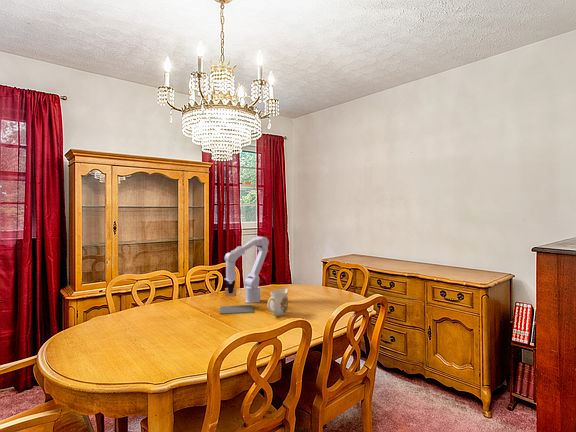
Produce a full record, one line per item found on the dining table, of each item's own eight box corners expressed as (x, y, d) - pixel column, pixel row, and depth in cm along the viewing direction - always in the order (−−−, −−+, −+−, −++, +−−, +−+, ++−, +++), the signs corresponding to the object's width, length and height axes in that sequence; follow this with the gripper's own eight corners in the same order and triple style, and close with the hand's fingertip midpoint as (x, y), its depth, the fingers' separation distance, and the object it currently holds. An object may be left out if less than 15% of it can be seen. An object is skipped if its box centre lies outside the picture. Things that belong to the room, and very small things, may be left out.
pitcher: (260, 316, 197) (260, 292, 197) (280, 308, 212) (280, 286, 211) (275, 320, 191) (275, 295, 190) (294, 312, 205) (294, 289, 205)
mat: (252, 305, 218) (252, 304, 218) (253, 312, 204) (253, 311, 204) (220, 307, 215) (220, 306, 215) (219, 314, 201) (219, 313, 201)
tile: (236, 295, 220) (236, 287, 220) (236, 296, 218) (236, 288, 218) (225, 295, 219) (225, 288, 219) (225, 296, 217) (225, 288, 217)
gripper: (224, 269, 224) (224, 290, 225) (223, 273, 210) (223, 295, 210) (235, 269, 225) (235, 289, 226) (235, 273, 211) (235, 295, 211)
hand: (230, 292), depth 218 cm, fingers closed on tile, 2 cm apart
